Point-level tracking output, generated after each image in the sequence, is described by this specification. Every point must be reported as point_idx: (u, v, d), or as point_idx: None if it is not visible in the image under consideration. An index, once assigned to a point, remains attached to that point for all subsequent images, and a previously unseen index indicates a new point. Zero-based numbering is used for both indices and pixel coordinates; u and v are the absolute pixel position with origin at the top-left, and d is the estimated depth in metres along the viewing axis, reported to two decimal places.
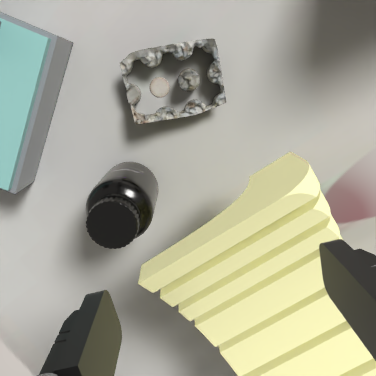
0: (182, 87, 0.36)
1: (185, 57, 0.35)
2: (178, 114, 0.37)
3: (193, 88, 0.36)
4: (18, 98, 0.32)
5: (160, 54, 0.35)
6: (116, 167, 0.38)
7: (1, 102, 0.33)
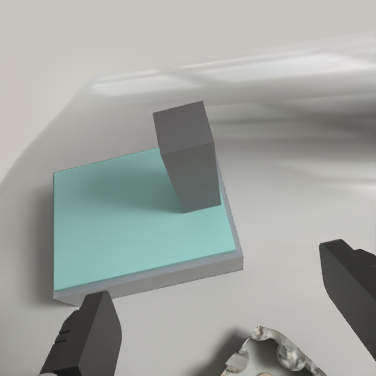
0: None
1: None
2: None
3: None
4: (160, 252, 0.29)
5: (303, 366, 0.27)
6: None
7: (147, 239, 0.29)
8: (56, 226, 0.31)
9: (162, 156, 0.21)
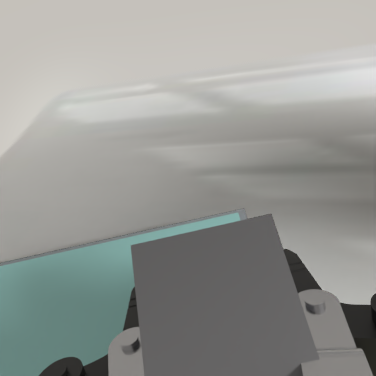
0: None
1: None
2: None
3: None
4: None
5: None
6: None
7: None
8: None
9: None
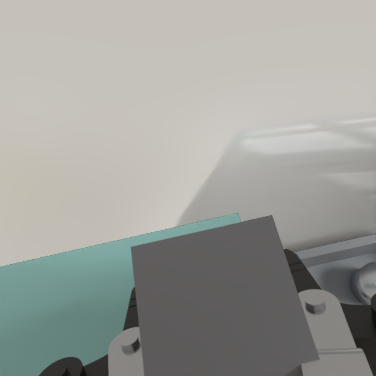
0: None
1: None
2: None
3: None
4: None
5: None
6: None
7: None
8: None
9: None
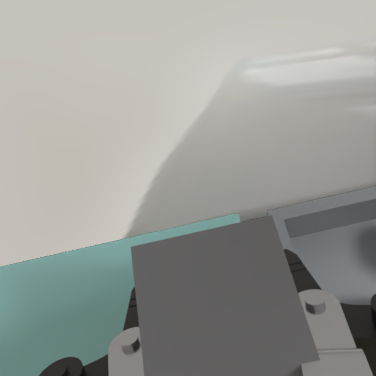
0: None
1: None
2: None
3: None
4: None
5: None
6: None
7: None
8: None
9: None
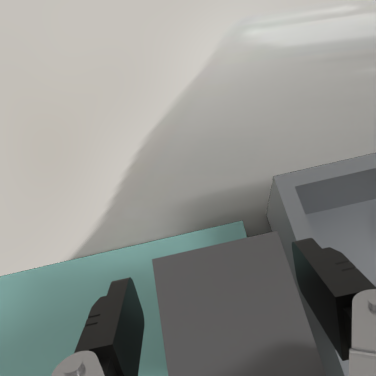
0: None
1: None
2: None
3: None
4: None
5: None
6: None
7: None
8: None
9: None
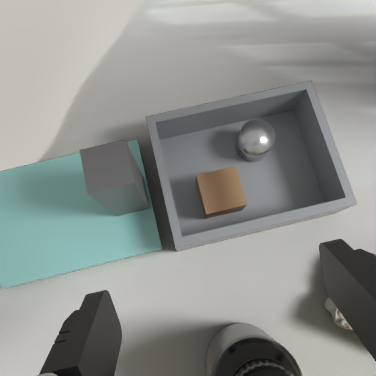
0: None
1: None
2: None
3: None
4: (96, 252, 0.33)
5: None
6: None
7: (84, 240, 0.33)
8: None
9: (89, 194, 0.24)
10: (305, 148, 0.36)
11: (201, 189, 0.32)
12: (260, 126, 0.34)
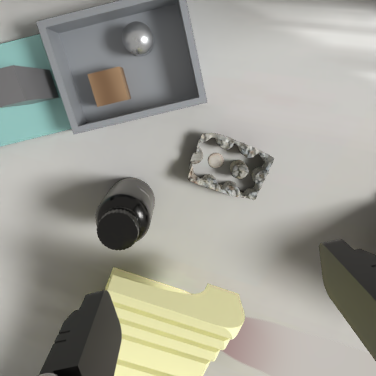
0: (233, 174, 0.46)
1: (247, 156, 0.45)
2: (219, 189, 0.46)
3: (239, 178, 0.47)
4: (23, 131, 0.45)
5: (232, 144, 0.45)
6: (142, 185, 0.46)
7: (12, 122, 0.44)
8: None
9: None
10: (185, 43, 0.43)
11: (92, 86, 0.41)
12: (139, 28, 0.39)
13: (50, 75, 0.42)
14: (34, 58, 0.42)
